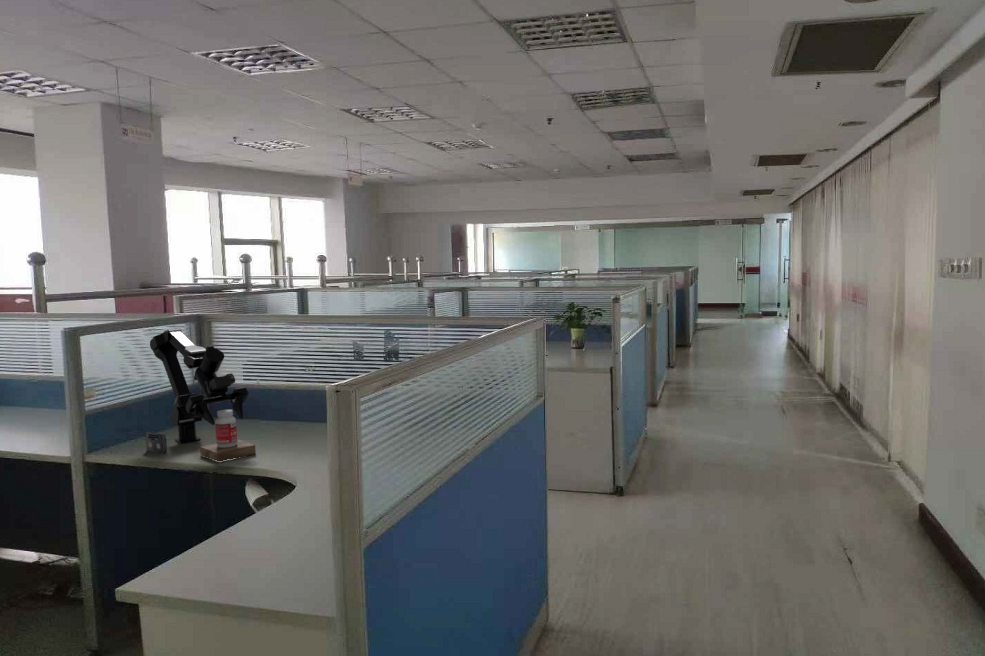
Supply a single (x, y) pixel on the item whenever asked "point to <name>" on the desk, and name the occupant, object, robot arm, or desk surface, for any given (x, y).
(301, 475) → the desk surface
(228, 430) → the pill bottle
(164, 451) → the mini dv tape
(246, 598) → the desk surface
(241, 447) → the walnut plinth
